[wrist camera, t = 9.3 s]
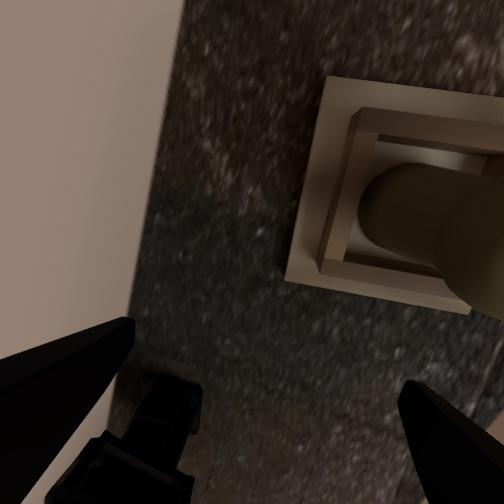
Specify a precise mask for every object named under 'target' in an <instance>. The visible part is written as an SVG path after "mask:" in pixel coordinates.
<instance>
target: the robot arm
mask: <svg viewBox="0 0 504 504" xmlns="http://www.w3.org/2000/svg"><path fill="white" fill-rule="evenodd" d="M134 342H135V320H134V319H133V318H128V317H119V318H117V319H114V320H111V321H108V322H105V323H102V324H100V325H97V326H94V327H91V328H88V329H85V330H82V331H80V332H77V333H74V334H71V335H68V336H66V337H63V338H60V339H57V340H54V341H51V342H48V343H45V344H43V345H40V346H37V347H34V348H31V349H28V350H26V351H23V352H20V353H17V354H14V355H11V356H9V357H6V358H3V359H0V504H21V503H22V501H23V500H24V498H25V497H26V496H27V495H28V493H29V492H30V491H31V489H32V488H33V487H34V485H35V484H36V483H37V481H38V480H39V479H40V477H41V476H42V475H43V473H44V472H45V471H46V469H47V468H48V467H49V465H50V464H51V463H52V461H53V460H54V459H55V457H56V456H57V455H58V453H59V452H60V450H61V449H62V448H63V447H64V445H65V444H66V443H67V441H68V440H69V439H70V437H71V436H72V435H73V433H74V432H75V431H76V429H77V428H78V427H79V425H80V424H81V423H82V421H83V420H84V419H85V417H86V416H87V415H88V413H89V412H90V411H91V409H92V408H93V407H94V405H95V404H96V403H97V401H98V400H99V399H100V397H101V396H102V394H103V393H104V392H105V390H106V389H107V387H108V386H109V384H110V383H111V381H112V380H113V378H114V376H115V375H116V373H117V371H118V370H119V368H120V367H121V365H122V363H123V362H124V360H125V358H126V357H127V355H128V353H129V352H130V350H131V349H132V347H133V345H134ZM202 396H203V389H202V388H201V387H198V386H194V385H189V384H185V383H180V382H176V381H171V380H167V379H163V378H158V377H154V376H149V375H144V376H143V378H142V379H141V404H140V405H139V407H138V409H137V410H136V412H135V414H134V415H133V417H132V418H131V420H130V422H129V423H128V425H127V426H126V428H125V430H124V431H123V433H122V434H121V436H120V438H117V437H115V436H114V435H112V434H110V433H111V432H109V431H107V430H105V431H104V432H103V433H102V435H101V436H100V437H98V438H91V439H90V440H89V442H88V443H87V444H86V446H85V447H84V448H83V450H82V451H81V452H80V454H79V455H78V456H77V458H76V459H75V461H73V463H72V464H71V465H70V466H69V467H68V469H67V470H66V471H65V472H64V473H63V475H62V476H61V477H60V478H59V479H58V480H57V482H56V483H55V484H54V485H53V486H52V488H51V489H50V490H49V492H48V493H47V495H46V496H45V499H44V504H190V500H191V495H192V490H193V484H194V479H195V478H194V477H192V476H190V475H188V476H187V475H186V474H184V473H182V472H180V471H178V470H176V468H177V466H178V463H179V460H180V457H181V455H182V452H183V449H184V446H185V444H186V441H187V438H188V435H189V434H191V435H196V434H197V433H198V430H199V424H200V415H201V405H202ZM397 404H398V409H399V413H400V417H401V420H402V424H403V427H404V431H405V435H406V438H407V442H408V445H409V449H410V453H411V456H412V459H413V462H414V465H415V468H416V471H417V474H418V476H419V479H420V482H421V484H422V487H423V490H424V493H425V495H426V498H427V501H428V503H429V504H504V445H503V444H501V443H500V442H499V441H497V440H496V439H495V438H494V437H492V436H491V435H489V434H488V433H487V432H486V431H485V430H483V429H482V428H481V427H479V426H478V425H477V424H476V423H474V422H473V421H472V420H471V419H469V418H468V417H467V416H465V415H464V414H463V413H462V412H460V411H459V410H458V409H456V408H455V407H454V406H453V405H451V404H450V403H449V402H447V401H446V400H445V399H444V398H442V397H441V396H440V395H438V394H437V393H436V392H435V391H433V390H432V389H431V388H429V387H428V386H427V385H426V384H424V383H422V382H419V381H415V380H407V381H406V382H405V384H404V386H403V388H402V391H401V393H400V395H399V397H398V402H397Z"/></svg>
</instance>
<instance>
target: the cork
mask: <svg viewBox="0 0 504 504" xmlns="http://www.w3.org/2000/svg"><path fill="white" fill-rule="evenodd" d="M358 219H359V224H360V228H361V229H362V231H363V233H364V234H365V236H366V238H368V239H369V240H370V241H371V242H372V243H374V244H375V245H376V246H379V247H381V248H384V249H386V250H388V251H391V252H393V253H396V254H398V255H401V256H403V257H406V258H408V259H411V260H413V261H415V262H418V263H420V264H423V265H425V266H428V267H430V268H433V269H435V270H438V271H439V273H440V275H441V277H442V279H443V281H444V282H445V284H446V285H447V287H448V288H449V290H451V291H452V292H453V293H454V294H455V295H457V296H458V297H459V298H460V299H462V300H463V301H464V302H465V303H467V304H468V305H469V306H470V307H472V308H473V309H474V310H476V311H478V312H481V313H484V314H486V315H489V316H491V317H494V318H497V319H499V320H502V321H504V175H503V176H500V177H496V178H490V177H485V176H480V175H476V174H471V173H466V172H462V171H457V170H452V169H448V168H443V167H438V166H434V165H429V164H424V163H403V164H400V165H396V166H393V167H390V168H388V169H387V170H385V171H384V172H382V173H380V174H379V175H377V176H376V177H375V178H374V179H373V180H372V182H371V183H370V184H369V185H368V186H367V187H366V189H365V191H364V193H363V195H362V197H361V199H360V202H359V209H358Z"/></svg>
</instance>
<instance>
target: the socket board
mask: <svg viewBox="0 0 504 504" xmlns="http://www.w3.org/2000/svg"><path fill="white" fill-rule="evenodd" d="M403 163H424V164H429V165H434V166H438V167H443V168H448V169H452V170H457V171H462V172H466V173H471V174H476V175H480V176H485V177H490V178H496V177H500V176H503V175H504V98H501V97H493V96H485V95H477V94H469V93H461V92H453V91H446V90H438V89H430V88H422V87H414V86H406V85H398V84H390V83H382V82H374V81H366V80H358V79H350V78H342V77H334V76H327V77H326V80H325V83H324V87H323V92H322V97H321V102H320V107H319V111H318V116H317V121H316V126H315V131H314V136H313V140H312V145H311V150H310V155H309V160H308V164H307V169H306V174H305V179H304V184H303V189H302V193H301V198H300V203H299V208H298V213H297V217H296V222H295V227H294V232H293V237H292V242H291V246H290V251H289V256H288V261H287V266H286V270H285V275H284V280H285V281H290V282H296V283H301V284H306V285H312V286H317V287H322V288H328V289H333V290H339V291H344V292H349V293H355V294H360V295H365V296H371V297H376V298H381V299H387V300H392V301H397V302H403V303H408V304H413V305H419V306H424V307H429V308H435V309H440V310H445V311H451V312H456V313H461V314H467V315H468V314H469V312H470V310H471V308H472V307H470V306H469V305H468V304H467V303H465V302H464V301H463V300H462V299H460V298H459V297H458V296H457V295H455V294H454V293H453V292H452V291H451V290H449V288H448V287H447V285H446V284H445V282H444V281H443V279H442V277H441V275H440V273H439V271H438V270H435V269H433V268H430V267H428V266H425V265H423V264H420V263H418V262H415V261H413V260H411V259H408V258H406V257H403V256H401V255H398V254H396V253H393V252H391V251H388V250H386V249H384V248H381V247H379V246H376V245H375V244H374V243H372V242H371V241H370V240H369V239H368V238H366V236H365V234H364V233H363V231H362V229H361V228H360V224H359V219H358V209H359V202H360V199H361V197H362V195H363V193H364V191H365V189H366V187H367V186H368V185H369V184H370V183H371V182H372V180H373V179H374V178H375V177H376V176H377V175H379V174H380V173H382V172H384V171H385V170H387V169H388V168H390V167H393V166H396V165H400V164H403Z"/></svg>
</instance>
